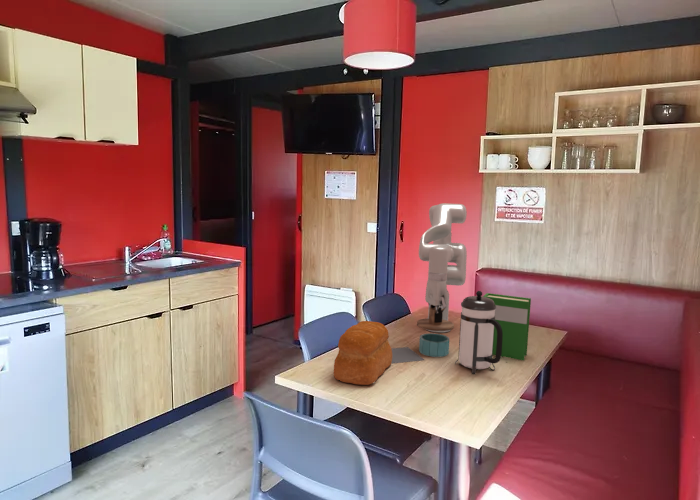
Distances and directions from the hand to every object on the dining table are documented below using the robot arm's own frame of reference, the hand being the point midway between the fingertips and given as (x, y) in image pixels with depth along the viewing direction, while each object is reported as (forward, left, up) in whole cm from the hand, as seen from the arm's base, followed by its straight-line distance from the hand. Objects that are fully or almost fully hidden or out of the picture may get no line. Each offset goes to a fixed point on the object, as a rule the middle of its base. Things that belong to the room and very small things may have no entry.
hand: (435, 320), depth 197 cm
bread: (+12, -35, -14) cm, 39 cm away
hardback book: (+8, +28, -14) cm, 32 cm away
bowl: (0, 0, -14) cm, 14 cm away
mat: (0, -16, -14) cm, 21 cm away
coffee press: (+20, +8, -14) cm, 26 cm away
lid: (0, 0, -2) cm, 2 cm away
